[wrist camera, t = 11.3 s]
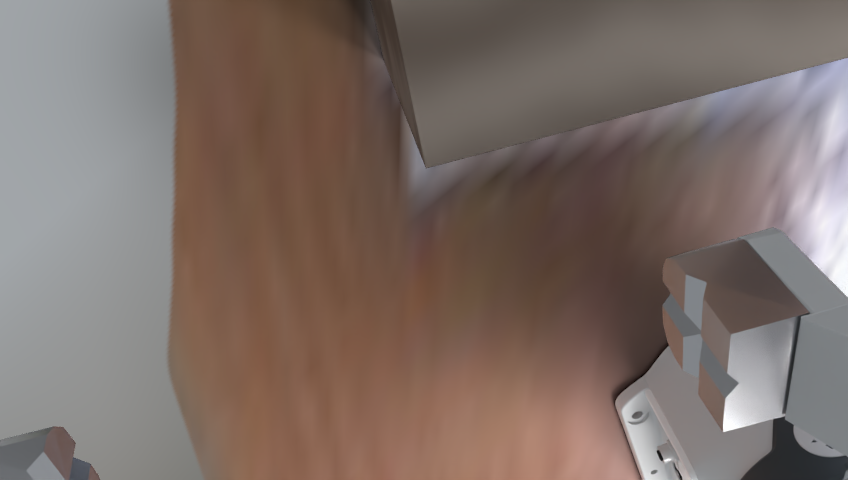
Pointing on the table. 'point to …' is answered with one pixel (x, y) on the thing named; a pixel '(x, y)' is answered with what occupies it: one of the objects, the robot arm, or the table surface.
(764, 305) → the robot arm
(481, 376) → the table surface
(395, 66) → the divided storage tray
